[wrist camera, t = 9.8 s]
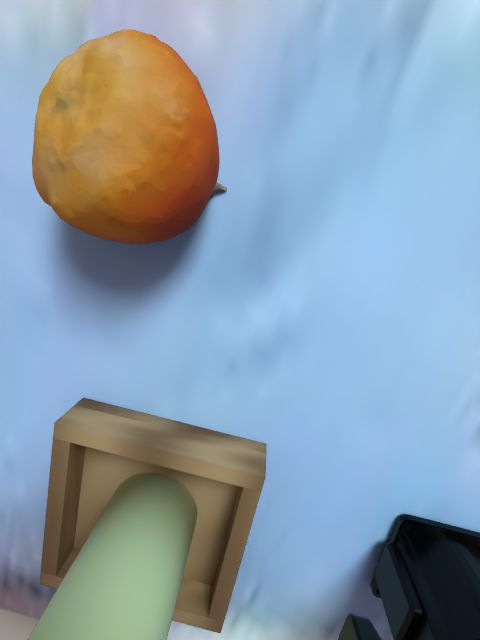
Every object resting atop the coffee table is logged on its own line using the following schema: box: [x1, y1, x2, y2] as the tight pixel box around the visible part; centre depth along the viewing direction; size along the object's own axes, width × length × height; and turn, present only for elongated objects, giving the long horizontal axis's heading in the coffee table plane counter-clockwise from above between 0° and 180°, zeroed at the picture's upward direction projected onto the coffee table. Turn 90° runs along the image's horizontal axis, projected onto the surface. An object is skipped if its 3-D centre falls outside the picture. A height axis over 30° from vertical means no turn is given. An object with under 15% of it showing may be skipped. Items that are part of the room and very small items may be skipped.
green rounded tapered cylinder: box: [28, 473, 197, 640], centre depth 16 cm, size 6×6×13 cm
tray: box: [40, 398, 266, 633], centre depth 22 cm, size 12×12×3 cm
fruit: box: [32, 30, 227, 244], centre depth 15 cm, size 8×8×8 cm
